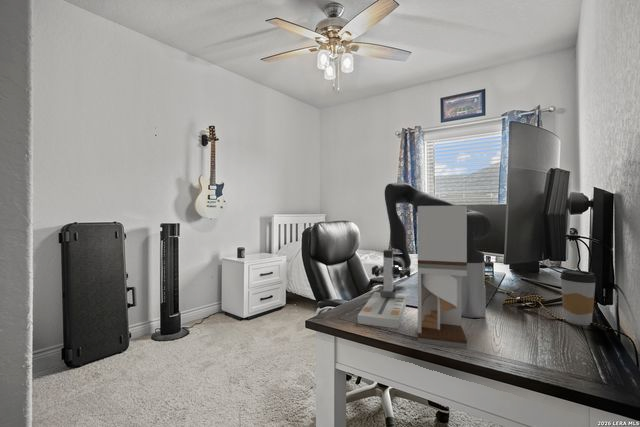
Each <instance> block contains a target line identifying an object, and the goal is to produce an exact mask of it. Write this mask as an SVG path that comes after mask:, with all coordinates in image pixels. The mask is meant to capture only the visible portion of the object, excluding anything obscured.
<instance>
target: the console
mask: <svg viewBox="0 0 640 427" xmlns="http://www.w3.org/2000/svg"><path fill="white" fill-rule="evenodd" d="M406 302H407V303H408V294H406V293H405V294H404V293H396V297H395V298H389V297H381V291H374V292H373V293H372V295H371V296H370V298H369V299H368V301H367V302H365V303H366V304H364V306H363V307H362V309H360V311H359V313H358V314H357V324H362V325H368V326H376V327H383V328H390V329H391V328H392V329H398V330H399V329H400V327H401V322H402V319H403V315H404V312H405V310H406V306H407V303H406Z"/></svg>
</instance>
